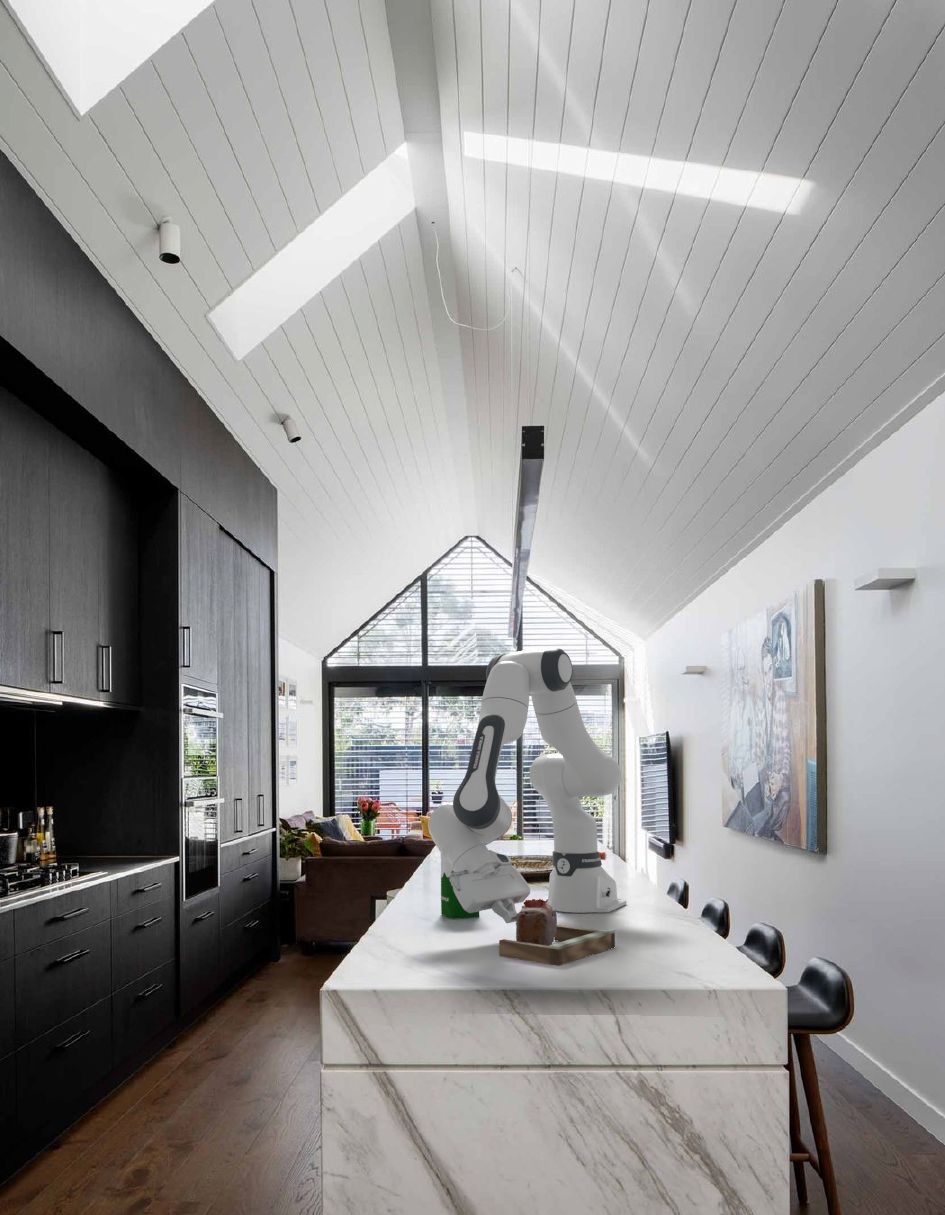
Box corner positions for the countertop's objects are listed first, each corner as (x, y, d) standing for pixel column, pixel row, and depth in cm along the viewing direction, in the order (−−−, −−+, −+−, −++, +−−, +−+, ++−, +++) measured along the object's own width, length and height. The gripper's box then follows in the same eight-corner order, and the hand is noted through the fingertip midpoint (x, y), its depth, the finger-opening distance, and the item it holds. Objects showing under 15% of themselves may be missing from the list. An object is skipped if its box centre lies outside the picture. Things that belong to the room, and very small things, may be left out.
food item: (520, 940, 210) (520, 893, 212) (558, 941, 209) (557, 893, 211) (514, 954, 197) (513, 903, 198) (554, 955, 196) (553, 904, 197)
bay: (558, 939, 211) (558, 922, 212) (615, 947, 202) (614, 930, 203) (499, 956, 195) (499, 937, 195) (558, 965, 186) (558, 946, 187)
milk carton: (484, 917, 238) (484, 832, 241) (450, 920, 234) (450, 834, 237) (469, 911, 246) (469, 830, 249) (435, 914, 242) (435, 831, 245)
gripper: (454, 863, 204) (491, 917, 197) (512, 855, 220) (549, 904, 213) (437, 883, 206) (474, 938, 199) (497, 873, 222) (532, 923, 215)
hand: (513, 920), depth 206 cm, fingers closed
